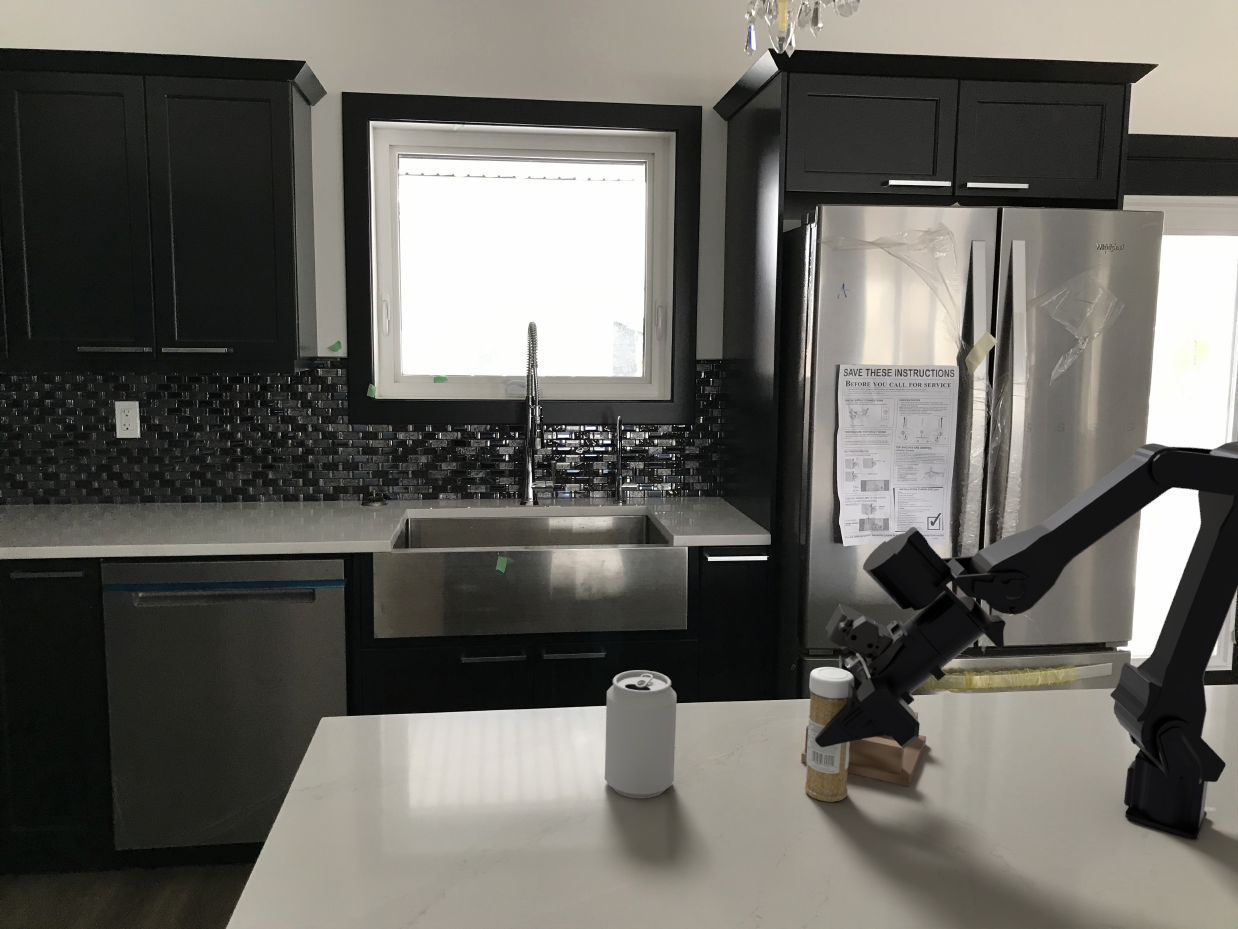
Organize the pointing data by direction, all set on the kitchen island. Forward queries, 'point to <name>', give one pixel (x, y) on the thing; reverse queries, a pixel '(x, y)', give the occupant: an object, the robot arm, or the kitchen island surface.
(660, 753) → the can
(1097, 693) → the kitchen island surface
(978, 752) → the kitchen island surface
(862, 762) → the walnut cradle
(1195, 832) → the robot arm
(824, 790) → the sprinkles bottle
